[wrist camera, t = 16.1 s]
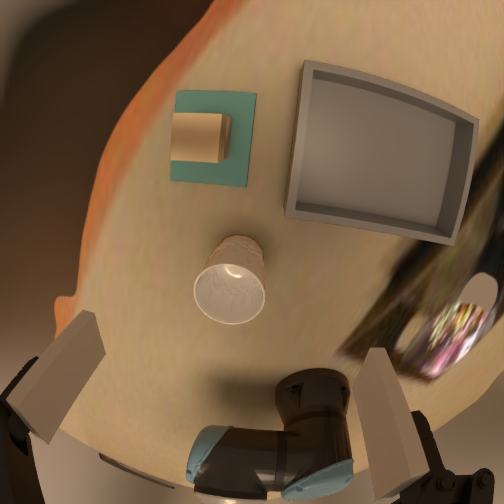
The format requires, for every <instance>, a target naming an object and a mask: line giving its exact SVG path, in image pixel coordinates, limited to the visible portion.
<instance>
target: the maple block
mask: <svg viewBox="0 0 504 504" xmlns="http://www.w3.org/2000/svg"><path fill="white" fill-rule="evenodd" d="M232 119H233V118H231V117H228V116H226V115H223V114H213V113H173V125H172V139H171V156H170V160H176V161H195V162H210V163H219V162H221V161H223V160H225V159H227V158H229V150H230V139H231V129H232Z"/></svg>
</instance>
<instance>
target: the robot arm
mask: <svg viewBox="0 0 504 504" xmlns="http://www.w3.org/2000/svg"><path fill="white" fill-rule="evenodd" d="M105 354H106V352H105V349H104V346H103V342H102V339H101V336H100V332H99V329H98V325H97V321H96V318H95V314H94V313H93V312H89V311H85V310H82V311H81V312H80V313H79V314H78V315H77V317H76V318H75V319H74V320H73V321H72V322H71V323H70V324H69V325H68V326H67V327H66V328H65V329H64V330H63V331H62V333H61V334H60V335H59V336H58V337H57V338H56V339H55V340H54V341H53V343H52V344H51V345H50V346H49V347H48V348H47V349H46V351H45V352H44V353H43V354H42V355H41V356H40V357H37V356H36V357H34V358H33V359H31V360H29V361H28V362H27V363H26V364H25V365H24V367H23V368H22V370H20V371H19V373H18V374H17V376H16V377H14V379H13V380H12V381H11V382H10V384H9V385H8V386H7V387H6V389H5V390H4V391H3V392H2V394H1V395H0V504H45V501H44V498H43V494H42V491H41V487H40V483H39V480H38V475H37V471H36V467H35V462H34V457H33V451H32V445H31V439H30V436H29V434H28V433H29V432H30V431H31V432H32V433H33V434H34V436H35V437H36V438H38V439H39V440H41V441H42V442H44V443H46V444H47V445H49V443H50V441H51V439H52V437H53V436H54V434H55V432H56V431H57V429H58V427H59V426H60V424H61V422H62V421H63V419H64V417H65V416H66V414H67V412H68V411H69V409H70V408H71V406H72V404H73V403H74V401H75V400H76V398H77V397H78V395H79V393H80V392H81V390H82V389H83V387H84V386H85V384H86V383H87V381H88V380H89V378H90V377H91V375H92V374H93V372H94V371H95V369H96V368H97V366H98V365H99V363H100V362H101V360H102V359H103V357H104V356H105ZM353 392H354V396H355V400H356V404H357V409H358V413H359V417H360V422H361V427H362V431H363V436H364V441H365V446H366V451H367V456H368V462H369V467H370V472H371V479H372V485H373V491H374V498H375V501H380V500H385V499H389V498H392V497H394V496H395V495H397V494H398V493H399V494H400V498H399V499H398V500H396V501H395V502H393V503H391V504H492V503H493V494H494V483H495V480H494V475H493V473H492V472H491V471H490V470H489V469H487V468H482V469H480V470H478V471H477V472H475V473H474V474H473V475H455V474H454V473H453V472H451V471H450V470H446V469H445V468H444V465H443V463H442V460H441V457H440V454H439V451H438V448H437V445H436V442H435V439H434V438H433V434H432V431H430V429H431V428H430V426H429V423H428V421H427V418H426V417H425V416H424V415H423V414H422V413H421V412H420V410H419V411H413V412H410V409H409V407H408V404H407V401H406V399H405V396H404V394H403V391H402V388H401V386H400V383H399V381H398V379H397V376H396V374H395V371H394V369H393V366H392V364H391V362H390V359H389V357H388V355H387V352H386V350H385V348H370V349H369V352H368V354H367V356H366V359H365V361H364V363H363V365H362V368H361V370H360V372H359V374H358V376H357V378H356V380H355V382H354V385H353ZM349 399H350V387H349V383H348V380H347V378H346V377H345V376H344V375H342V374H341V373H339V372H336V371H333V370H329V369H310V370H304V371H301V372H297V373H295V374H292V375H290V376H288V377H287V378H285V379H284V380H283V381H281V382H280V384H279V385H278V386H277V388H276V391H275V404H276V407H277V409H278V412H279V414H280V417H281V419H282V422H283V424H284V431H272V430H256V429H245V428H236V427H233V426H228V427H227V426H215V425H210V426H207V427H205V428H203V429H202V430H201V431H200V433H199V434H198V436H197V438H196V440H195V442H194V444H193V446H192V449H191V452H190V455H189V458H188V462H187V470H186V479H187V480H188V481H189V482H191V483H193V484H195V486H194V494H195V495H196V496H197V497H198V498H199V499H200V501H201V503H202V504H263V503H264V502H265V501H267V492H268V491H277V492H281V496H282V498H283V499H285V500H288V501H290V500H293V501H302V500H310V499H315V498H320V497H324V496H327V495H330V494H333V493H336V492H338V491H340V490H342V489H344V488H346V487H347V486H348V485H349V484H350V483H351V482H352V480H353V462H354V460H353V459H352V452H351V445H350V439H349V433H348V427H347V421H346V414H347V409H348V404H349Z"/></svg>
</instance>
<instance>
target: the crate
mask: <svg viewBox="0 0 504 504" xmlns="http://www.w3.org/2000/svg"><path fill="white" fill-rule="evenodd" d="M478 130H479V119H477V118H476V117H474V116H472V115H470V114H468V113H466V112H464V111H462V110H460V109H458V108H456V107H454V106H452V105H450V104H448V103H446V102H444V101H441V100H439V99H437V98H435V97H432V96H430V95H428V94H425V93H423V92H420V91H418V90H415V89H413V88H410V87H407V86H405V85H402V84H399V83H396V82H393V81H390V80H387V79H384V78H381V77H377V76H374V75H371V74H367V73H364V72H360V71H356V70H352V69H348V68H344V67H340V66H335V65H330V64H325V63H320V62H315V61H309V60H305V61H304V63H303V65H302V68H301V71H300V81H299V90H298V99H297V107H296V116H295V124H294V132H293V140H292V148H291V156H290V163H289V171H288V178H287V186H286V193H285V200H284V214H285V218H292V219H299V220H306V221H313V222H320V223H327V224H333V225H340V226H346V227H352V228H358V229H364V230H370V231H376V232H382V233H388V234H393V235H399V236H404V237H410V238H415V239H420V240H425V241H431V242H436V243H441V244H445V245H450V246H454V244H455V241H456V238H457V234H458V231H459V228H460V224H461V221H462V217H463V213H464V209H465V205H466V201H467V197H468V193H469V188H470V183H471V178H472V173H473V167H474V161H475V155H476V147H477V139H478Z"/></svg>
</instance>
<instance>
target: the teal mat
mask: <svg viewBox="0 0 504 504" xmlns="http://www.w3.org/2000/svg"><path fill="white" fill-rule="evenodd" d="M255 103H256V93H246V92H230V91H177V94H176V104H175V113H213V114H223V115H226V116H228V117H231V118H233V119H232V129H231V139H230V150H229V158H227V159H225V160H223V161H221V162H219V163H210V162H195V161H176V160H171V177H170V181H184V182H197V183H209V184H220V185H230V186H239V187H246V186H247V177H248V167H249V158H250V148H251V139H252V130H253V121H254V112H255Z"/></svg>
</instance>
